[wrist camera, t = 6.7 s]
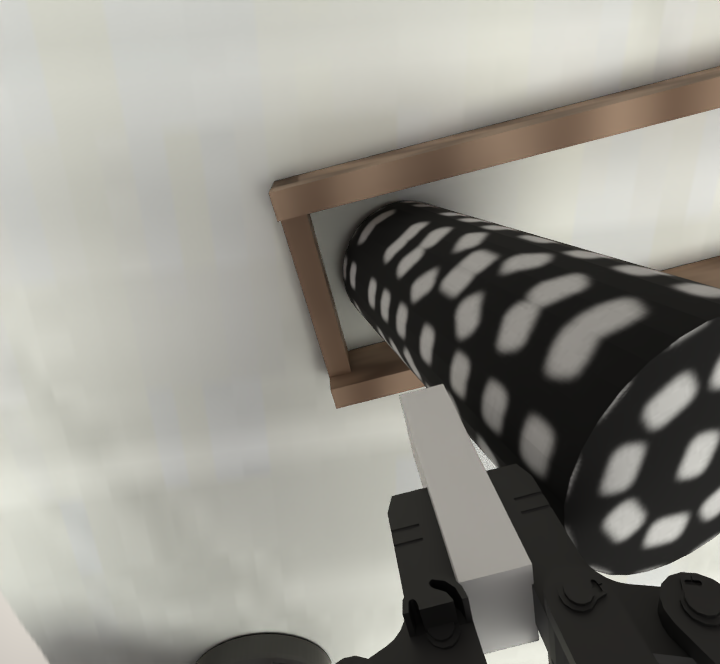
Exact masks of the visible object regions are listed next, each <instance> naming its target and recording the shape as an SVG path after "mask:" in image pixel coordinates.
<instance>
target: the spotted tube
mask: <svg viewBox="0 0 720 664" xmlns="http://www.w3.org/2000/svg"><path fill="white" fill-rule="evenodd" d="M343 276H344V283H345V287H346V291H347V293H348V296H349V298H350V300H351V302H352V303H353V304H354V306H355V307H356V308H357V310H358V311H359V312H360V313H361V314H362V315H363V316H364V318H365V319H366V320H367V321H368V322H369V323H370V324H371V326H372V327H373V328H374V329H375V330H376V331H377V332H378V333H379V335H380V336H381V337H382V338H383V339H384V340H385V341H386V343H387V344H388V345H389V346H390V347H391V348H392V349H393V350H394V352H395V353H396V354H397V355H398V356H399V357H400V358H401V359H402V361H403V362H404V363H405V364H406V365H407V366H408V367H409V369H410V370H411V371H412V372H413V373H414V374H415V375H416V376H417V378H418V379H419V380H420V381H421V382H422V383H423V384H424V386H425V387H426V388H429V387H433V386H437V385H441V384H443V385H444V387H445V389H446V391H447V393H448V395H449V397H450V399H451V401H452V403H453V405H454V407H455V409H456V411H457V413H458V415H459V417H460V419H461V421H462V423H463V425H464V427H465V429H466V432H467V434H468V435H469V436H470V438H471V439H472V440H473V441H474V442H475V443H476V444H477V445H478V447H479V448H480V449H481V450H482V451H483V452H484V453H485V455H486V456H487V457H488V458H489V459H490V460H491V461H492V462H493V464H494V465H495V466H496V467H497V468H500V467H504V466H508V465H512V464H517V465H519V466H520V467H521V468H523V469H524V470H525V471H527V472H528V473H529V474H531V475H532V477H533V478H534V480H535V482H536V483H537V485H538V486H539V488H540V490H541V492H542V494H543V495H544V496H545V498H546V499H547V501H548V503H549V505H550V507H551V508H552V509H553V511H554V512H555V514H556V516H557V517H558V519H559V521H560V522H561V524H562V526H563V527H564V529H565V530H566V532H567V534H568V535H569V537H570V539H571V540H572V542H573V543H574V545H575V547H576V548H577V550H578V552H579V553H580V555H581V556H582V558H583V559H584V560H585V562H586V563H587V564H588V565H589V566H590V567H591V568H592V569H593V570H595V571H598V572H602V573H605V574H609V575H631V574H636V573H641V572H646V571H650V570H653V569H656V568H659V567H661V566H664V565H667V564H670V563H672V562H674V561H676V560H678V559H680V558H682V557H684V556H686V555H688V554H690V553H692V552H693V551H695V550H696V549H698V548H699V547H701V546H702V545H704V544H705V543H707V542H708V541H710V540H712V539H713V538H714V537H716V536H717V535H718V534H719V533H720V288H716V287H713V286H709V285H706V284H702V283H699V282H695V281H692V280H689V279H685V278H682V277H678V276H675V275H671V274H668V273H664V272H661V271H657V270H654V269H651V268H647V267H644V266H640V265H637V264H633V263H630V262H626V261H623V260H619V259H616V258H613V257H609V256H606V255H602V254H599V253H595V252H592V251H588V250H585V249H581V248H578V247H575V246H571V245H568V244H564V243H561V242H557V241H554V240H550V239H547V238H543V237H540V236H537V235H533V234H530V233H526V232H523V231H519V230H516V229H512V228H509V227H505V226H502V225H499V224H495V223H492V222H488V221H485V220H481V219H478V218H474V217H471V216H467V215H464V214H461V213H457V212H454V211H450V210H447V209H443V208H440V207H436V206H433V205H429V204H426V203H422V202H415V201H403V202H397V203H393V204H390V205H387V206H385V207H383V208H381V209H379V210H377V211H375V212H374V213H373V214H372V215H370V216H369V217H368V218H367V219H365V221H364V222H363V223H362V224H361V225H360V226H359V227H358V229H357V230H356V232H355V233H354V235H353V237H352V238H351V240H350V242H349V245H348V248H347V250H346V253H345V259H344V265H343Z"/></svg>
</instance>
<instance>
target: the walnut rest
mask: <svg viewBox="0 0 720 664" xmlns="http://www.w3.org/2000/svg"><path fill="white" fill-rule="evenodd" d="M717 108H720V66H718V67H715V68H711V69H707V70H703V71H699V72H695V73H691V74H688V75H684V76H680V77H676V78H672V79H668V80H664V81H660V82H657V83H653V84H649V85H645V86H641V87H637V88H633V89H630V90H626V91H622V92H618V93H614V94H610V95H606V96H602V97H599V98H595V99H591V100H587V101H583V102H579V103H575V104H571V105H568V106H564V107H560V108H556V109H552V110H548V111H544V112H541V113H537V114H533V115H529V116H525V117H521V118H517V119H513V120H510V121H506V122H502V123H498V124H494V125H490V126H486V127H482V128H479V129H475V130H471V131H467V132H463V133H459V134H455V135H452V136H448V137H444V138H440V139H436V140H432V141H428V142H424V143H421V144H417V145H413V146H409V147H405V148H401V149H397V150H394V151H390V152H386V153H382V154H378V155H374V156H370V157H366V158H363V159H359V160H355V161H351V162H347V163H343V164H339V165H335V166H332V167H328V168H324V169H320V170H316V171H312V172H308V173H305V174H301V175H297V176H293V177H289V178H285V179H281V180H277V181H274V183H273V185H272V187H271V189H270V191H269V196H270V199H271V202H272V205H273V209H274V212H275V215H276V218H277V221H281V223H282V226H283V229H284V233H285V236H286V239H287V242H288V246H289V249H290V252H291V255H292V258H293V262H294V265H295V268H296V271H297V274H298V278H299V281H300V284H301V287H302V291H303V294H304V297H305V300H306V303H307V307H308V310H309V313H310V316H311V319H312V323H313V326H314V329H315V332H316V336H317V339H318V342H319V345H320V348H321V352H322V355H323V358H324V361H325V364H326V368H327V371H328V374H329V377H330V388H331V393H332V396H333V399H334V402H335V406H336V409H337V408H341V407H345V406H349V405H353V404H357V403H361V402H365V401H369V400H373V399H377V398H381V397H385V396H388V395H392V394H396V393H400V392H404V391H408V390H412V389H416V388H420V387H424V384H423V383H422V382H421V381H420V380H419V379H418V378H417V376H416V375H415V374H414V373H413V372H412V371H411V370H410V369H409V367H408V366H407V365H406V364H405V363H404V362H403V361H402V359H401V358H400V357H399V356H398V355H397V354H396V353H395V352H394V350H393V349H392V348H391V347H390V346H389V345H388V344H387V343H386V341H385V342H381V343H377V344H373V345H369V346H365V347H361V348H357V349H353V350H349V351H348V350H347V346H346V343H345V339H344V335H343V332H342V328H341V325H340V321H339V318H338V314H337V310H336V307H335V303H334V300H333V296H332V293H331V289H330V285H329V282H328V278H327V275H326V271H325V268H324V264H323V260H322V257H321V253H320V250H319V246H318V242H317V239H316V235H315V232H314V228H313V225H312V221H311V217H310V214H309V213H313V212H317V211H321V210H325V209H329V208H333V207H337V206H340V205H344V204H348V203H352V202H356V201H360V200H364V199H368V198H372V197H375V196H379V195H383V194H387V193H391V192H395V191H399V190H403V189H406V188H410V187H414V186H418V185H422V184H426V183H430V182H434V181H437V180H441V179H445V178H449V177H453V176H457V175H461V174H465V173H469V172H472V171H476V170H480V169H484V168H488V167H492V166H496V165H500V164H503V163H507V162H511V161H515V160H519V159H523V158H527V157H531V156H534V155H538V154H542V153H546V152H550V151H554V150H558V149H562V148H566V147H569V146H573V145H577V144H581V143H585V142H589V141H593V140H597V139H600V138H604V137H608V136H612V135H616V134H620V133H624V132H628V131H631V130H635V129H639V128H643V127H647V126H651V125H655V124H659V123H663V122H666V121H670V120H674V119H678V118H682V117H686V116H690V115H694V114H697V113H701V112H705V111H709V110H713V109H717ZM661 272H664V273H668V274H671V275H675V276H678V277H682V278H685V279H689V280H692V281H695V282H699V283H702V284H706V285H709V286H713V287H716V288H720V256H718V257H714V258H710V259H706V260H702V261H698V262H694V263H690V264H686V265H682V266H679V267H675V268H671V269H667V270H663V271H661Z"/></svg>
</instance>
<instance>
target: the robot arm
mask: <svg viewBox="0 0 720 664" xmlns="http://www.w3.org/2000/svg"><path fill="white" fill-rule="evenodd" d="M399 397H400V401H401V405H402V409H403V414H404V418H405V422H406V426H407V430H408V434H409V439H410V443H411V447H412V451H413V455H414V459H415V462H416V465H417V469H418V472H419V475H420V478H421V482H422V485H423V488H422V489H419V490H415V491H411V492H407V493H403V494H399V495H395V496H392V498H391V502H390V506H389V510H388V518H389V523H390V528H391V532H392V538H393V543H394V547H395V553H396V558H397V563H398V568H399V573H400V579H401V584H402V589H403V594H404V599H403V617H404V623H403V626H402V628H401V630H400V632H399V633H398V635H397V636H396V638H395V639H394V640H393V641H392V642H391V643H390V644H389V645H387V646H386V647H385V648H383V649H382V650H380V651H379V652H378V653H376V654H375V655H373V656H372V657H370V658H369V659H366V658H362V657H358V656H352V657H347V658H343V659H342V660H340V661H339V662H337V663H336V664H487V662H486V659H485V656H484V654H486V653H490V652H494V651H498V650H502V649H506V648H510V647H514V646H518V645H522V644H526V643H530V642H534V641H538V640H539V635H538V630H539V633H540V635H541V637H542V639H543V642H544V644H545V646H546V649H547V651H548V659H549V664H720V584H719V583H718V582H716V581H715V580H713V579H711V578H708V577H705V576H702V575H700V574H697V573H685V572H680V573H677V574H674V575H670V576H668V577H667V578H666V580H665V581H664V582H663V583H662V584H661V587H657V586H645V585H632V584H625V583H620V582H616V581H613V580H611V579H608V578H606V577H604V576H602V575H601V574H599V573H597V572H596V571H595V570H593V569H592V568H591V567H590V566H589V565H588V564H587V563H586V562H585V560H584V559H583V558H582V556H581V555H580V553H579V552H578V550H577V548H576V547H575V545H574V543H573V542H572V540H571V539H570V537H569V535H568V534H567V532H566V530H565V529H564V527H563V526H562V524H561V522H560V521H559V519H558V517H557V516H556V514H555V512H554V511H553V509H552V508H551V507H550V505H549V503H548V501H547V499H546V498H545V496H544V495H543V494H542V492H541V490H540V488H539V486H538V485H537V483H536V482H535V480H534V478H533V477H532V475H531V474H529V473H528V472H527V471H525V470H524V469H523V468H521V467H520V466H519V465H517V464H512V465H508V466H504V467H500V468H496V469H492V470H488V471H486V470H485V468H484V466H483V464H482V462H481V460H480V458H479V456H478V454H477V452H476V450H475V448H474V446H473V444H472V442H471V440H470V438H469V436H468V434H467V432H466V429H465V427H464V425H463V423H462V421H461V419H460V417H459V415H458V413H457V411H456V409H455V407H454V405H453V403H452V401H451V399H450V397H449V395H448V393H447V391H446V389H445V387H444V385H443V384H441V385H437V386H433V387H429V388H425V389H421V390H417V391H414V392H410V393H406V394H402V395H399ZM196 664H331V661H330V659H329V657H328V656H327V654H326V653H325V652H324V651H323V650H322V649H320V648H319V647H318V646H316V645H315V644H313V643H311V642H309V641H306V640H303V639H300V638H297V637H293V636H287V635H278V634H260V635H251V636H245V637H241V638H237V639H233V640H230V641H227V642H225V643H222V644H220V645H218V646H216V647H214V648H213V649H211V650H210V651H208V652H207V653H205V654H204V655H203V656H202V657H201V658H200V659H199V660H198V661H197V663H196Z"/></svg>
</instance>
